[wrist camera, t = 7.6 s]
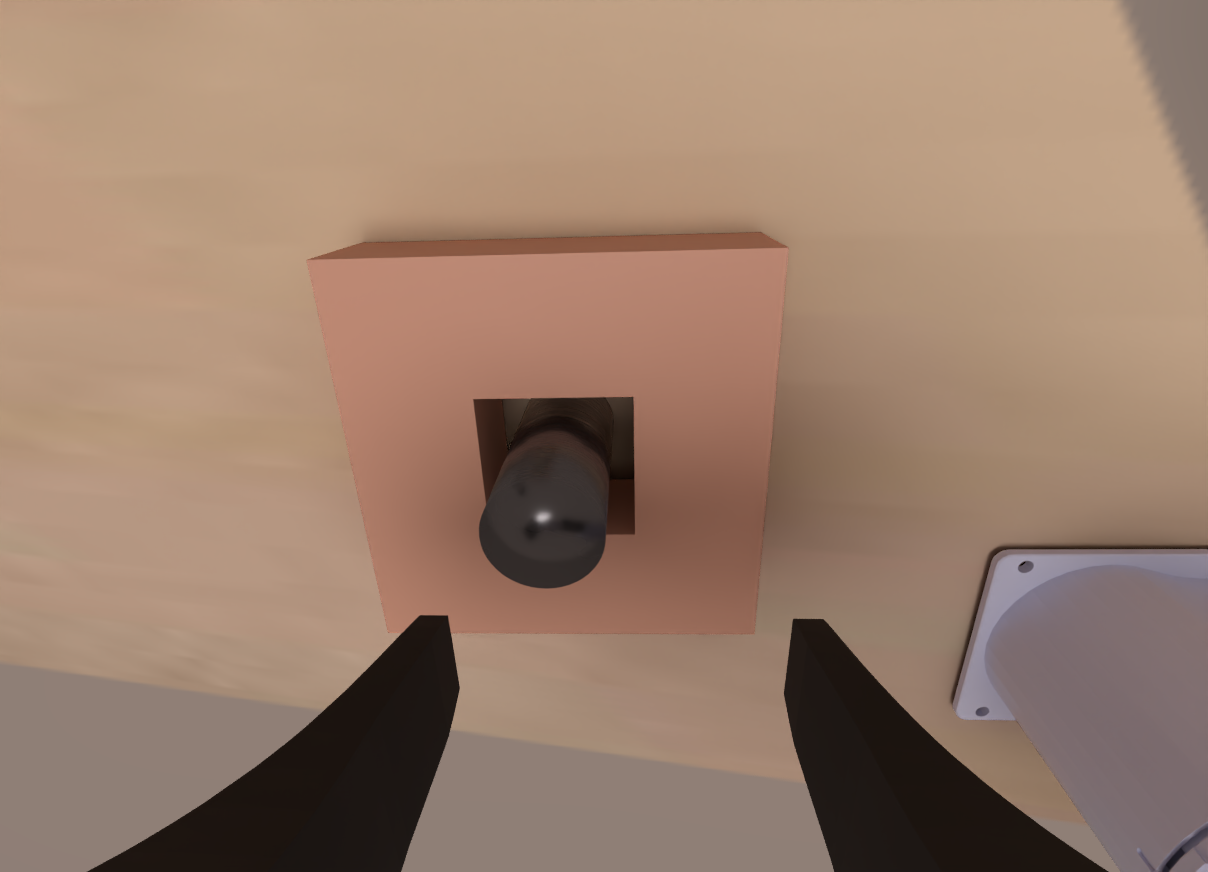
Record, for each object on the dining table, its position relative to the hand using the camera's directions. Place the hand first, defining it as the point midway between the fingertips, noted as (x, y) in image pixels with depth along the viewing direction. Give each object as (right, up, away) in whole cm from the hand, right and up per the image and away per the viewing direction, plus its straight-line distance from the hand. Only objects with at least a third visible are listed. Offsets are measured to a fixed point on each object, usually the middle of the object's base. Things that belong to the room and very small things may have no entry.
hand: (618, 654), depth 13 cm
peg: (-1, +5, +8) cm, 10 cm away
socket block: (-1, +5, +8) cm, 10 cm away
